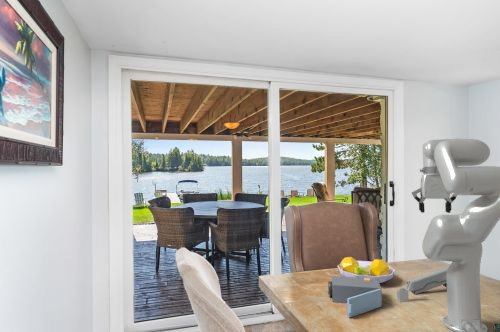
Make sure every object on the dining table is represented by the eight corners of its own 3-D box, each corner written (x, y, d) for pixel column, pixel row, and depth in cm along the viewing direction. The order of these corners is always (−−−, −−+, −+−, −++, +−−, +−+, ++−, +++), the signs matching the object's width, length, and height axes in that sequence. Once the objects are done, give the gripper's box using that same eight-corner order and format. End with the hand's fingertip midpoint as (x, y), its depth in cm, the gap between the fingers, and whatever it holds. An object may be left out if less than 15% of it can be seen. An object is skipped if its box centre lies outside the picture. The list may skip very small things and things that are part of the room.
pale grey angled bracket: (399, 302, 128) (399, 282, 129) (397, 300, 130) (396, 281, 130) (415, 300, 130) (414, 281, 130) (412, 299, 131) (411, 279, 132)
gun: (463, 287, 140) (458, 266, 140) (414, 305, 136) (409, 282, 136) (459, 285, 142) (454, 264, 142) (410, 302, 138) (405, 280, 138)
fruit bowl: (357, 268, 175) (357, 248, 175) (406, 281, 153) (405, 257, 153) (324, 279, 158) (323, 256, 158) (373, 295, 136) (372, 268, 137)
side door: (384, 306, 123) (383, 289, 124) (351, 318, 114) (350, 299, 114) (380, 305, 125) (380, 288, 125) (347, 316, 115) (347, 298, 116)
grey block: (381, 306, 125) (381, 286, 125) (328, 301, 130) (328, 282, 130) (377, 294, 136) (377, 276, 137) (328, 291, 141) (328, 273, 142)
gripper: (413, 171, 130) (415, 213, 129) (460, 170, 126) (462, 213, 125) (408, 171, 137) (410, 211, 137) (453, 171, 133) (454, 211, 133)
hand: (435, 212), depth 131 cm, fingers open, 9 cm apart
